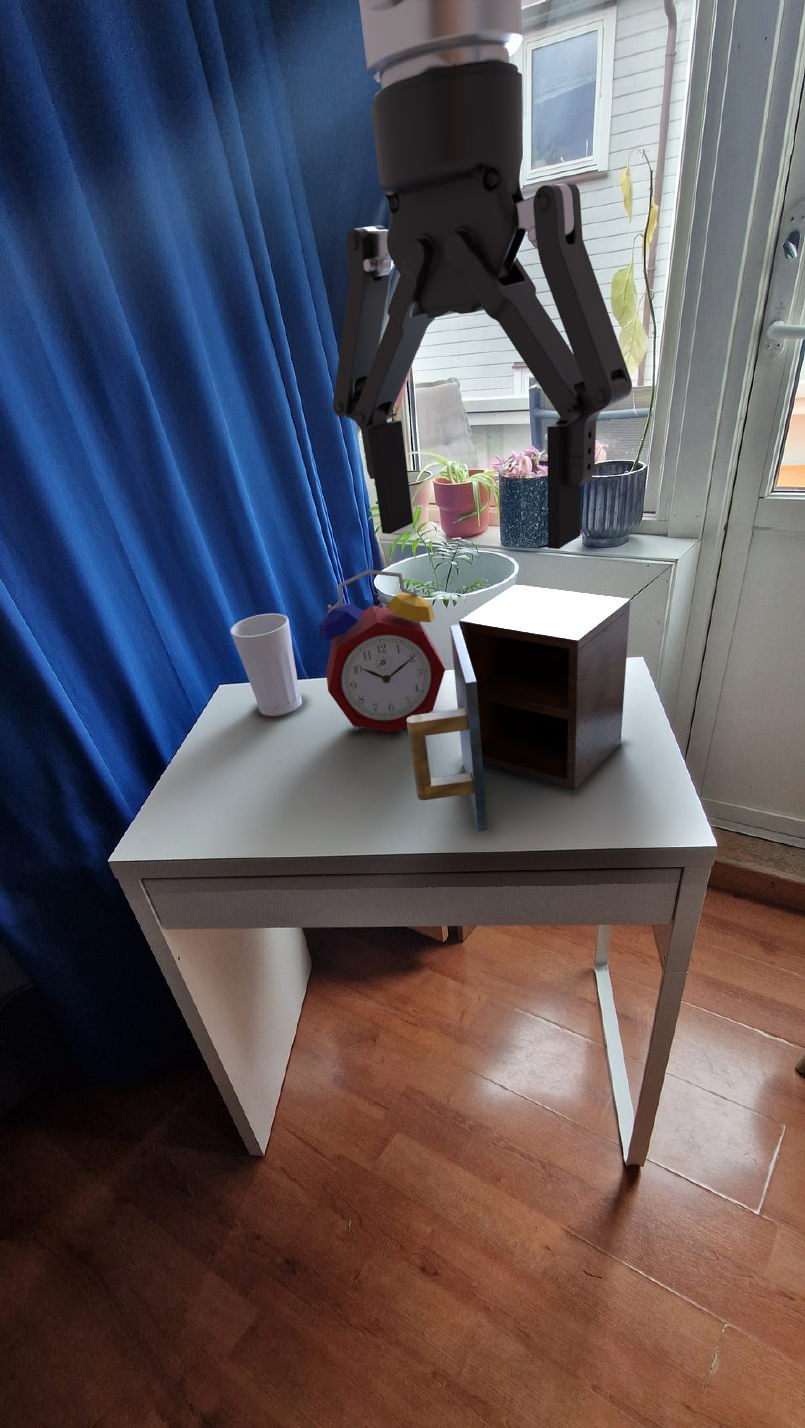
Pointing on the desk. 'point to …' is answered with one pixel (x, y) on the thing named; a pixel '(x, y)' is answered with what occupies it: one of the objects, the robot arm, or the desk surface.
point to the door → (453, 721)
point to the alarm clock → (382, 659)
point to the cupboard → (549, 680)
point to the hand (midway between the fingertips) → (474, 535)
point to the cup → (269, 662)
